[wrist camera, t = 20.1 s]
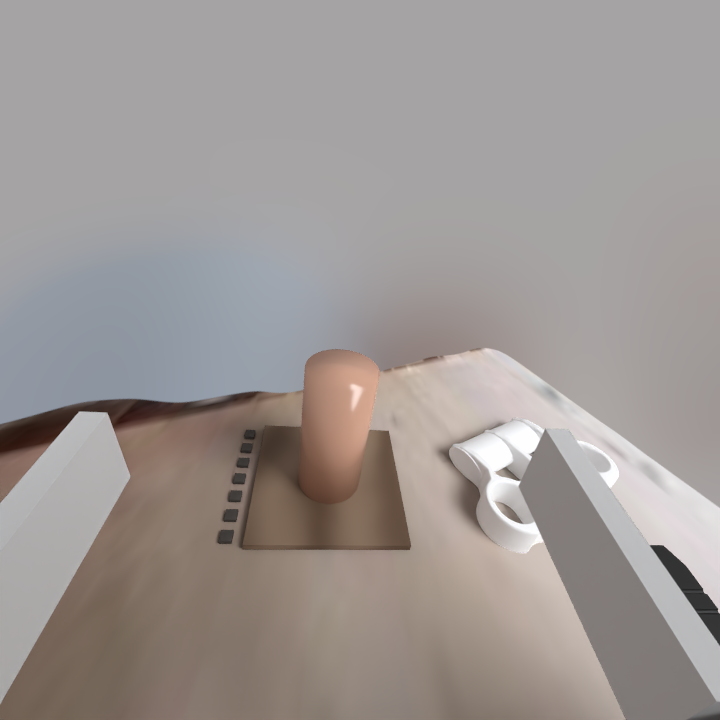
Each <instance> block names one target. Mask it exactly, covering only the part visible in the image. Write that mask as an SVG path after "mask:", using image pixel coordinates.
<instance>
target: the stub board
mask: <svg viewBox="0 0 720 720" xmlns="http://www.w3.org/2000/svg"><path fill="white" fill-rule="evenodd" d="M254 436H255V430H246V432H245V436H244V438H245V439H254ZM300 438H301V427H286V426H265V429H264V434H263V440H262V445H261V450H260V455H259V461H258V466H257V471H256V477H255V482H254V487H253V492H252V498H251V503H250V508H249V514H248V519H247V524H246V530H245V535H244V540H243V549H332V550H410V547H411V543H410V538H409V533H408V528H407V523H406V517H405V512H404V507H403V502H402V497H401V492H400V487H399V482H398V477H397V471H396V466H395V461H394V456H393V451H392V446H391V441H390V436H389V431H377V430H369V433H368V438H367V444H366V449H365V454H364V459H363V464H362V470H361V475H360V480H359V485H358V488H357V490H356V492H355V493H354V494H353V495H352V496H351V497H350V498H349V499H347V500H345V501H343V502H340V503H335V504H324V503H319V502H316V501H314V500H312V499H310V498H309V497H307V496H306V495H305V494H304V493H303V491H302V490H301V488H300V486H299V483H298V469H299V453H300ZM251 450H252V444H250V443H243V444H242V448H241V452H246V453H251ZM248 464H249V458H239V460H238V464H237V467H242V468H248ZM245 478H246V474H242V473H235V476H234V480H233V484H244V483H245ZM241 497H242V491H232V490H231V493H230V497H229V502H240V501H241ZM237 515H238V509H226V513H225V517H224V522H236V520H237ZM233 534H234V530H221V533H220V537H219V543H229V544H231V543H232V538H233Z"/></svg>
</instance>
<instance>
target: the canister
mask: <svg viewBox="0 0 720 720" xmlns="http://www.w3.org/2000/svg"><path fill="white" fill-rule="evenodd" d="M379 376H380V372H379V369H378V367H377V365H376V364H375V363H374V362H373V361H372V360H371V359H369V358H368V357H366V356H364V355H362V354H360V353H357V352H353V351H349V350H340V349H332V350H326V351H321V352H318V353H316V354H314V355H313V356H311V357H310V358H309V359H308V360H307V362H306V365H305V376H304V377H305V378H304V391H303V407H302V422H301V438H300V453H299V469H298V483H299V486H300V488H301V490H302V491H303V493H304V494H305V495H306V496H307V497H309V498H310V499H312V500H314V501H316V502H319V503H324V504H335V503H340V502H343V501H345V500H347V499H349V498H350V497H351V496H352V495H353V494H354V493H355V492H356V490H357V488H358V485H359V480H360V475H361V470H362V464H363V459H364V454H365V449H366V444H367V438H368V433H369V428H370V423H371V418H372V413H373V407H374V402H375V397H376V392H377V387H378V381H379Z"/></svg>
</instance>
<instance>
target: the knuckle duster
mask: <svg viewBox="0 0 720 720" xmlns="http://www.w3.org/2000/svg"><path fill="white" fill-rule="evenodd" d="M543 432H544V430H543V429H542V428H541V427H539V426H538V425H536V424H534V423H532V422H531V421H529V420H527V419H523V418H513V419H512V421H510V422H508V423H506V424H503V425H501V426H499V427H496V428H494V429H492V430H486V431H484V433H483V434H480V435H478V436H476V437H474V438H471V439H469V440H467V441H465V442H462V443H460V444H457V443H456V444H453V445H452V447H451V448H450V449H449V456H450V458H451V460H452V462H453V464H454V466H455V467H456V468H457V469H458V470H459V471H460V472H461V473H462V474H463V475H464V476H465V477H466V478H467V479H469V480H471V481H472V482H473V483H474V484H475V485H476V486H477V487H478V489H479V492H480V496H481V497H480V499H479V502H478V504H477V507H476V516H477V520H478V522H479V525H480V526H481V528H482V530H483V531H484V532H485V534H486V535H487V536H488V537H489V538H490V539H491V540H492V541H494V542H495V543H496V544H498V545H499V546H501V547H503V548H505V549H507V550H510V551H513V552H517V553H528V551H529V549H530V548H531V547H532V546H533V545H535V544H537V543H540V542H544V541H543V539H542V536H541V534H540V532H539V530H538V528H537V526H536V523H535V521H534V519H533V517H532V515H531V513H530V510H529V508H528V506H527V504H526V502H525V500H524V497H523V495H522V493H521V491H520V489H519V487H518V486H519V484H520V482H521V481H516V480H513V479H510V478H506V477H500V476H498V475H497V474H495V472H497V471H499V470H500V469H502V468H504V467H506V468H507V469H508V470H510V471H511V472H512V473H513V474H514V475H515V476H516V477H517V478H519V479H520V480H521V479H522V477H523V475H524V473H525V471H526V469H527V467H528V464H529V462H530V460H531V458H532V456H531V455H529V454H531V453H532V452H535V449H536V447H537V445H538V443H539V441H540V439H541V437H542V434H543ZM576 441H577V442H578V444H579V445H580V446H581V448H582V449H583V451H584V452H585V454H586V455H587V456H588V458H589V459H590V461H591V462H592V464H593V465H594V466H595V468H596V469H597V471H598V472H599V474H600V475H601V476H602V478H603V479H604V481H605V482H606V484H607V485H608V486H609V488H611V487H612V485H613V484H614V483H615V481H616V480H617V479H618V477H619V471H618V468H617V466H616V464H615V463H614V462H613V460H612V459H611V458H610V457H609V456H608V455H607V454H605V453H604V452H603V451H601V450H600V449H598V448H597V447H595V446H593V445H591V444H589V443H586V442H583V441H580V440H576ZM494 501H497V502H501V503H503V504H506V505H507V506H509V507H510V508H511V509H513V510H514V512H515V513H516V514H517V515H518V517H519V518H520V520H521V521H522V523H523V524H521V523H517V522H514V521H512V520H510V519H509V518H507V517H506V516H505V515H503V514H502V513H501V511H500V510H499V509H498V507H497V506H496V504H495V503H494Z"/></svg>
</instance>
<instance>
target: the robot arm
mask: <svg viewBox="0 0 720 720" xmlns="http://www.w3.org/2000/svg"><path fill="white" fill-rule="evenodd" d="M129 479H130V474H129V471H128V468H127V466H126V463H125V460H124V457H123V455H122V452H121V449H120V446H119V444H118V441H117V438H116V435H115V433H114V430H113V427H112V424H111V422H110V419H109V416H108V413H101V412H79V413H78V414H77V415H76V416H75V417H74V418H73V420H72V421H71V422H70V423H69V424H68V425H67V427H66V428H65V429H64V430H63V431H62V432H61V433H60V435H59V436H58V437H57V438H56V439H55V440H54V442H53V443H52V444H51V445H50V446H49V447H48V449H47V450H46V451H45V452H44V453H43V454H42V455H41V457H40V458H39V459H38V460H37V461H36V462H35V464H34V465H33V466H32V467H31V468H30V469H29V471H28V472H27V473H26V474H25V475H24V476H23V477H22V479H21V480H20V481H19V482H18V483H17V484H16V486H15V487H14V488H13V489H12V490H11V491H10V493H9V494H8V495H7V496H6V497H5V498H4V499H3V501H2V502H1V503H0V704H1V702H2V700H3V699H4V697H5V695H6V693H7V692H8V690H9V688H10V686H11V685H12V683H13V681H14V679H15V678H16V676H17V674H18V672H19V671H20V669H21V667H22V665H23V664H24V662H25V660H26V658H27V657H28V655H29V653H30V651H31V650H32V648H33V646H34V644H35V643H36V641H37V639H38V637H39V636H40V634H41V632H42V631H43V629H44V627H45V625H46V624H47V622H48V620H49V618H50V617H51V615H52V613H53V611H54V610H55V608H56V606H57V604H58V603H59V601H60V599H61V597H62V596H63V594H64V592H65V590H66V589H67V587H68V585H69V583H70V582H71V580H72V578H73V576H74V575H75V573H76V571H77V569H78V568H79V566H80V564H81V562H82V561H83V559H84V557H85V555H86V554H87V552H88V550H89V549H90V547H91V545H92V543H93V542H94V540H95V538H96V536H97V535H98V533H99V531H100V529H101V528H102V526H103V524H104V522H105V521H106V519H107V517H108V515H109V514H110V512H111V510H112V508H113V507H114V505H115V503H116V501H117V500H118V498H119V496H120V494H121V493H122V491H123V489H124V487H125V486H126V484H127V482H128V480H129ZM518 487H519V489H520V491H521V493H522V495H523V497H524V500H525V502H526V504H527V506H528V508H529V510H530V513H531V515H532V517H533V519H534V521H535V523H536V526H537V528H538V530H539V532H540V534H541V536H542V539H543V541H544V543H545V545H546V547H547V549H548V552H549V554H550V556H551V558H552V560H553V562H554V565H555V567H556V569H557V571H558V573H559V575H560V578H561V580H562V582H563V584H564V586H565V588H566V590H567V593H568V595H569V597H570V599H571V601H572V603H573V606H574V608H575V610H576V612H577V614H578V616H579V619H580V621H581V623H582V625H583V627H584V629H585V632H586V634H587V636H588V638H589V640H590V642H591V645H592V647H593V649H594V651H595V653H596V655H597V658H598V660H599V662H600V664H601V666H602V668H603V671H604V673H605V675H606V677H607V679H608V681H609V684H610V686H611V688H612V690H613V692H614V694H615V697H616V699H617V701H618V703H619V705H620V707H621V710H622V712H623V714H624V716H625V718H626V720H720V614H719V613H718V608H717V607H716V606H715V604H714V603H713V602H712V600H711V599H710V598H709V596H708V595H707V594H705V593H704V592H703V588H702V587H701V586H700V584H699V583H698V581H697V580H696V579H695V577H694V576H693V575H692V573H691V572H690V571H689V569H688V568H687V567H686V566H685V565H684V564H683V563H682V562H681V561H680V560H679V559H678V558H677V557H675V556H674V555H673V554H672V553H671V552H670V551H669V550H668V549H666V548H665V547H664V546H663V545H649V544H648V542H647V541H646V539H645V538H644V537H643V535H642V534H641V532H640V531H639V529H638V528H637V527H636V525H635V524H634V522H633V521H632V519H631V518H630V517H629V515H628V514H627V512H626V511H625V509H624V508H623V507H622V505H621V504H620V502H619V501H618V499H617V498H616V497H615V495H614V494H613V492H612V491H611V489H610V488H609V486H608V485H607V484H606V482H605V481H604V479H603V478H602V476H601V475H600V474H599V472H598V471H597V469H596V468H595V466H594V465H593V464H592V462H591V461H590V459H589V458H588V456H587V455H586V454H585V452H584V451H583V449H582V448H581V446H580V445H579V444H578V442H577V441H576V439H575V438H574V436H573V435H572V434H571V432H570V431H569V429H545V430H544V432H543V434H542V437H541V439H540V441H539V443H538V445H537V447H536V449H535V452H534V454H533V456H532V458H531V460H530V462H529V464H528V467H527V469H526V471H525V473H524V475H523V477H522V479H521V482H520V484H519V486H518Z"/></svg>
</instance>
